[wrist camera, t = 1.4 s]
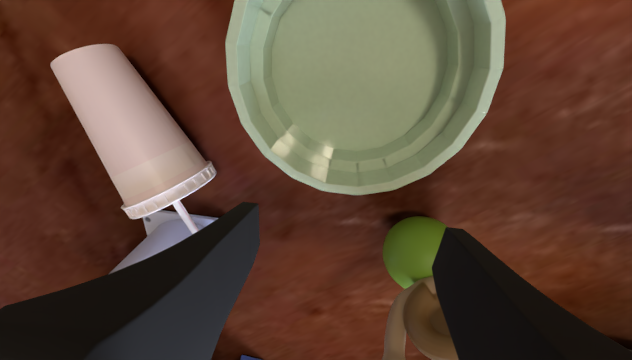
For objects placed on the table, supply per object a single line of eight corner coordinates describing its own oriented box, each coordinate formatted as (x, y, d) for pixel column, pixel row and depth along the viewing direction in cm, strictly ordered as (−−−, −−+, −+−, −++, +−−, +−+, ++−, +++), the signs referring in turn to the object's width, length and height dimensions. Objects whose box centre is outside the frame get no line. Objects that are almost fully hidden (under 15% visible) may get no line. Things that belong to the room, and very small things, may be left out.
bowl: (433, 174, 20) (453, 208, 16) (256, 153, 21) (233, 180, 17) (504, -58, 14) (563, -95, 10) (251, -73, 15) (214, -114, 11)
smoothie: (3, 87, 16) (148, 275, 20) (46, 34, 13) (207, 270, 17) (111, 71, 21) (208, 223, 25) (160, 31, 18) (261, 212, 22)
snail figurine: (358, 219, 23) (362, 378, 12) (438, 192, 21) (527, 354, 10) (382, 266, 25) (403, 438, 14) (457, 246, 23) (548, 428, 12)
